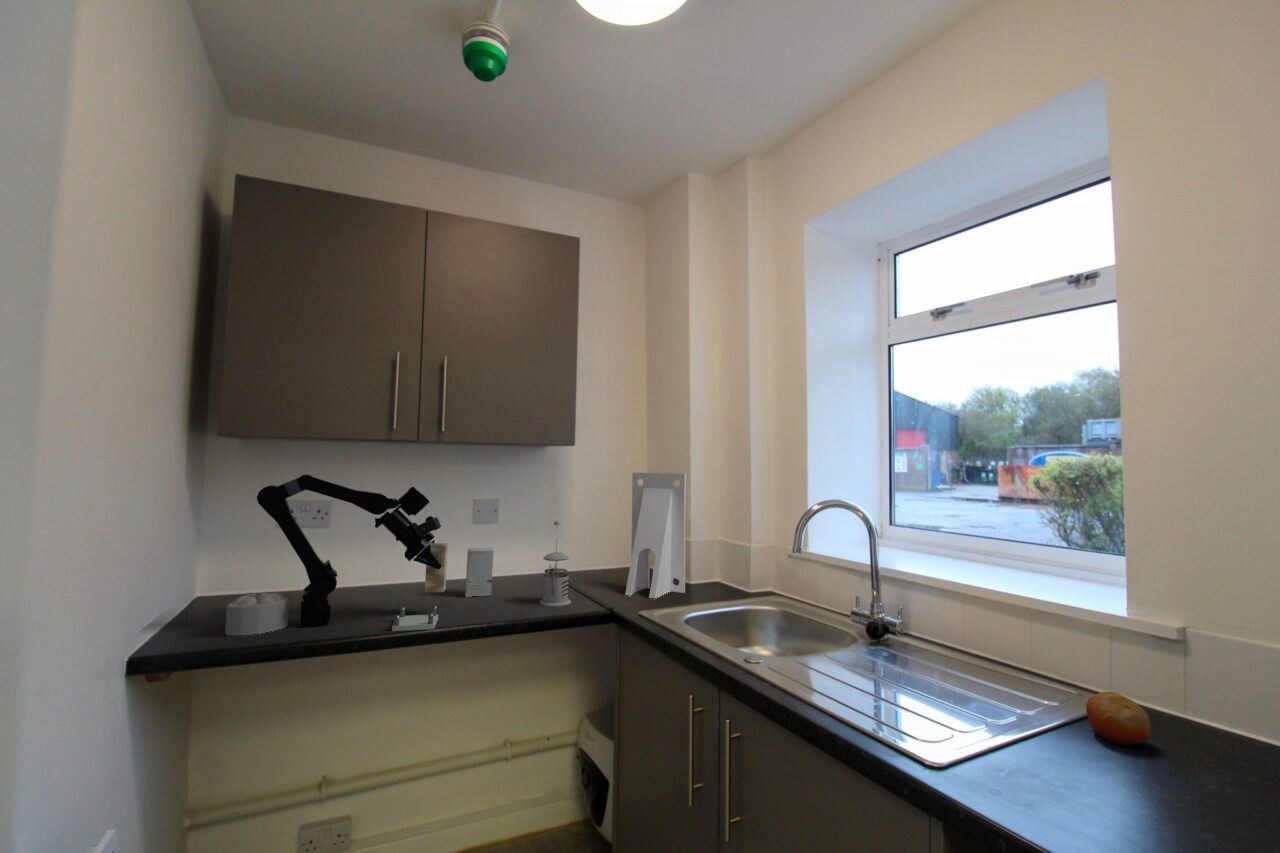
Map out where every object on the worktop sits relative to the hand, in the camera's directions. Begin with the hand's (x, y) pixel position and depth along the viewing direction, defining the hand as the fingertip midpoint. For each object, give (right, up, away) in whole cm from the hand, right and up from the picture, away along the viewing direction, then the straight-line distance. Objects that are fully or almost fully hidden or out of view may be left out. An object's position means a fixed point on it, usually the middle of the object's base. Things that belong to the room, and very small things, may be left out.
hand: (441, 566), depth 165 cm
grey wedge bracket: (+60, -16, +28) cm, 68 cm away
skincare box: (+4, -15, +22) cm, 27 cm away
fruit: (+134, -11, -72) cm, 152 cm away
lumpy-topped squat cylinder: (-41, -12, -19) cm, 46 cm away
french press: (+31, -15, +13) cm, 36 cm away
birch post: (-1, -7, -1) cm, 7 cm away
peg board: (-2, -12, -13) cm, 18 cm away
